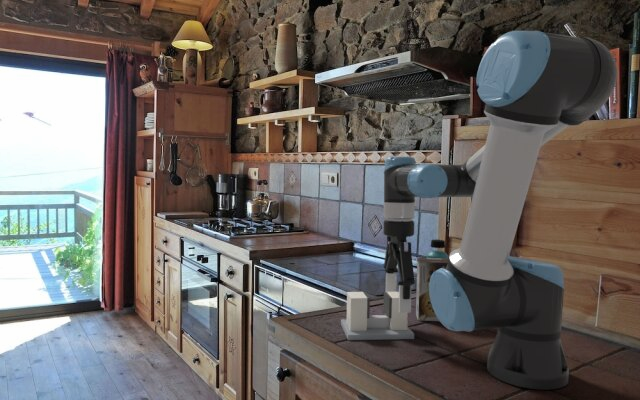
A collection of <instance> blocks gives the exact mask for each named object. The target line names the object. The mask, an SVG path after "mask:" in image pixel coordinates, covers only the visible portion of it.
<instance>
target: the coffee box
mask: <svg viewBox="0 0 640 400" xmlns="http://www.w3.org/2000/svg"><path fill="white" fill-rule="evenodd" d="M448 260H449V257H448V258H427V257H417V260H416V263H417V264H416V294H415V296H416V297H415V298H416V300H415V302H416V303H415V304H416V306H415V315H416V318H417V321H419V322H420V321H421V322H422V321H424V322H440V321H439V319H438V318H437V316H436V314H435V312H434V310H433V307H432V304H431V300H430V294H429V283H430V278H431V276H432V274H433V273H434V272H435V271H436V270H439V269H440V268H444V269H446V267H447V264H448Z"/></svg>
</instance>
